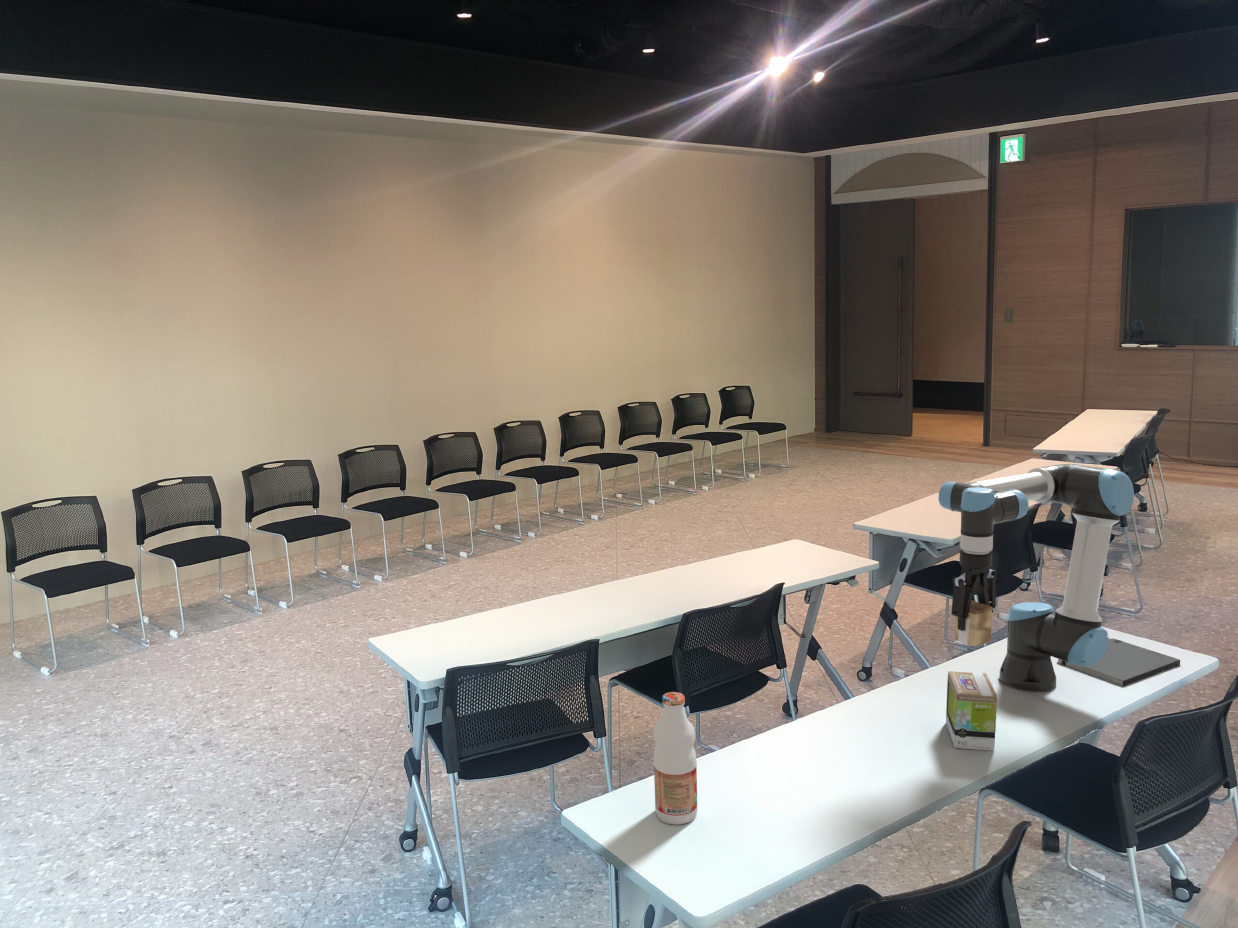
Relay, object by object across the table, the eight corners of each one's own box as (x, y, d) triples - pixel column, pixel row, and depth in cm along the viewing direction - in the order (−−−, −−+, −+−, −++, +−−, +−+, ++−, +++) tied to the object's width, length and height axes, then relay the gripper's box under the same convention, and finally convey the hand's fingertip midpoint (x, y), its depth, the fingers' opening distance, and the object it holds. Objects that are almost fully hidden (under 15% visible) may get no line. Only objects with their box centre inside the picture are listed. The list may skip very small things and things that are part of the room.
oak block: (971, 634, 235) (972, 600, 233) (991, 641, 230) (992, 606, 228) (954, 639, 232) (955, 604, 231) (974, 646, 227) (975, 611, 225)
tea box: (996, 751, 227) (998, 695, 225) (953, 749, 229) (955, 693, 227) (984, 724, 242) (986, 671, 239) (944, 722, 244) (946, 669, 241)
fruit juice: (646, 811, 206) (643, 694, 201) (679, 798, 211) (676, 683, 206) (672, 830, 198) (669, 709, 193) (706, 815, 203) (704, 697, 199)
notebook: (1122, 687, 262) (1180, 666, 275) (1123, 680, 261) (1180, 659, 274) (1054, 663, 280) (1111, 644, 294) (1055, 656, 280) (1112, 637, 293)
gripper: (989, 541, 235) (986, 627, 239) (936, 553, 226) (934, 642, 230) (1014, 547, 228) (1010, 635, 232) (961, 560, 219) (958, 651, 223)
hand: (972, 638), depth 231 cm, fingers closed on oak block, 6 cm apart
